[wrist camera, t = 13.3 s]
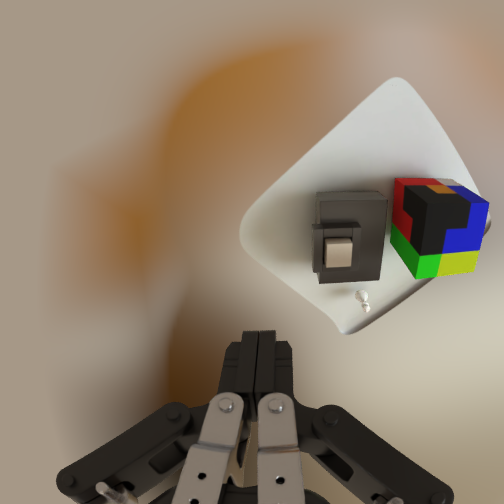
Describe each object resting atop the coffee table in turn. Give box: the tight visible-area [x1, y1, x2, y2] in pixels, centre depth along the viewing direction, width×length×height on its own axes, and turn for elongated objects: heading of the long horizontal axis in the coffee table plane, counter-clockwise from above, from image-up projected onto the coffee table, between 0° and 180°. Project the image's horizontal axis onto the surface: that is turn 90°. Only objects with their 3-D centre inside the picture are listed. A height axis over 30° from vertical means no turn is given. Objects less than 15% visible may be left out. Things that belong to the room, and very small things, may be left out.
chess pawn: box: [355, 290, 370, 312], centre depth 44 cm, size 3×2×4 cm
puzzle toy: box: [390, 178, 489, 279], centre depth 34 cm, size 10×10×10 cm
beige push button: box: [324, 238, 352, 268], centre depth 36 cm, size 3×3×2 cm
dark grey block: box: [312, 191, 388, 284], centre depth 39 cm, size 12×10×6 cm
